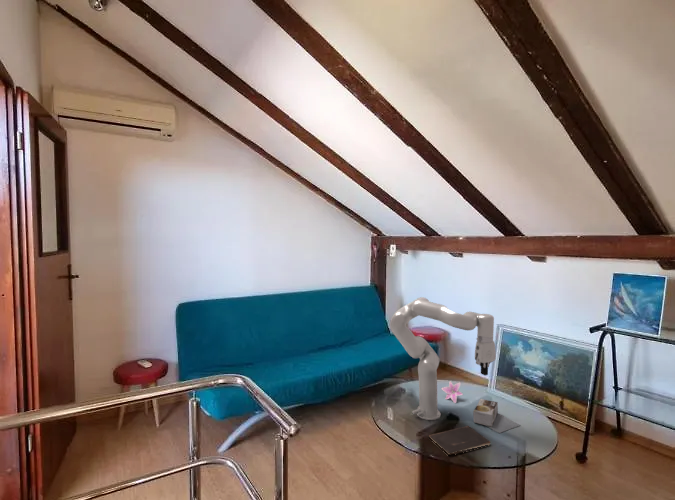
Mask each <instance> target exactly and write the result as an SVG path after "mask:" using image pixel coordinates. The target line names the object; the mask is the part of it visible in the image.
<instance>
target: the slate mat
mask: <svg viewBox="0 0 675 500" xmlns="http://www.w3.org/2000/svg"><path fill="white" fill-rule="evenodd" d="M484 426H485V427H487V428H489V429H491V430H493V432H496V433H497V434H503V433H505V432H508V431H509V430H510V431H511V430H513V429H515V428H518V427H522V426H521V424H519V423H517V422H516V421H514V420H512V419H510V418H507V417H506V416H504V415H502V414H500V413H499V412H498V414H497V416H496V418H495V420H494V423H493V425H492V427H491V426H487V425H484Z"/></svg>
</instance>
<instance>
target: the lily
mask: <svg viewBox="0 0 675 500" xmlns="http://www.w3.org/2000/svg"><path fill="white" fill-rule="evenodd" d="M448 383H449V384H448V386H443V387H441V390H442V391H443V392H444V393H446V396H445V399H444V400H448V399H451V401H452V402H453V404H456V403H457V400H458V397H459V396H463V395H464V394H463V392H461V391H460V387H461V383H462V382H457V383H455V384H453V382H452V381H451V380H450V381H448Z"/></svg>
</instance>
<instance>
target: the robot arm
mask: <svg viewBox="0 0 675 500" xmlns="http://www.w3.org/2000/svg"><path fill="white" fill-rule="evenodd" d="M417 317H423V318H428V319H432V320H434V321H435V320H436V321H438V322H441V323H442V324H445V325H447V326H450V327H452V328H455V329H459V330H463V331H472V330H474V329H475V328H477V329H476V330H477V333H476V334H477V337H476V343H475V349H474V360H475V365H478V366H480V374H481V375H483V376H488V375H489V367H490V364H491V363H492V362H494V361H496V356H497V355H496V354H497V353H496V344H495V341H494V329H495V327H494V325H495V318H494V316H493V315H492V314H489V313H478V312H474V311H467V312H465V313H458V312H455V311H452V310H451V309H449V308H448V307H447V306H446V305H443V304H441V303H436V302H431V301H429V299H428V298H426V297H422V296H421V297H417V298H416V299H414V300H413V301H410V302H409V303H407V304H405V305H404V306H401V307H400V308H399V309H398V310H396V311H395V312H394V313H393V315H392V317H391V319H390V323H389V326H390V330H391V331H392V333H393V335H394V336H395V338H396V340H397V341H398V342H399V343H400V344H401V345H402V347H403V349H404V350H405V351H406V353H407V354H408V355H409V356H410V357H412V359H419V362H418V365H417V372H418V373H417V374H418V396H419V397H418V398H419V400H418V401H419V402H418V404H419V406H417V408H416V409H414V410H411V414H412V415H417V417H419V418H420V419H422V420H426V421H437V420H438V419H440V418H441V412H440V410H438V377H437V369H438V368H439V365H440V357H439V355H438V354H437V353H436V351H435V350H434V349H433V347H431V345H430V344H429V343H428V341H427V340H426V339H425V338H424V337H422V336H420V335H417V336H415V334H414V333H413V332H412V331H411V330H410V328H409V327H407V324H408V323H409V322H410V321H411V320H414V319H415V318H417Z"/></svg>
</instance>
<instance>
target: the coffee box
mask: <svg viewBox="0 0 675 500" xmlns="http://www.w3.org/2000/svg"><path fill="white" fill-rule="evenodd" d="M498 404H499V403H498V401H494V400H489V399H484V398H480V399H479V401H478V403H477V404H476V406H475V407H474V409H473V411H472V413H473V423H474V424H478V425H484V426H485V425H487V426H491V427H492V425H493V423H494V420H495V418H496V416H497V414H498V413H499V411H498V409H499V405H498ZM487 426H486V427H487Z"/></svg>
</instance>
